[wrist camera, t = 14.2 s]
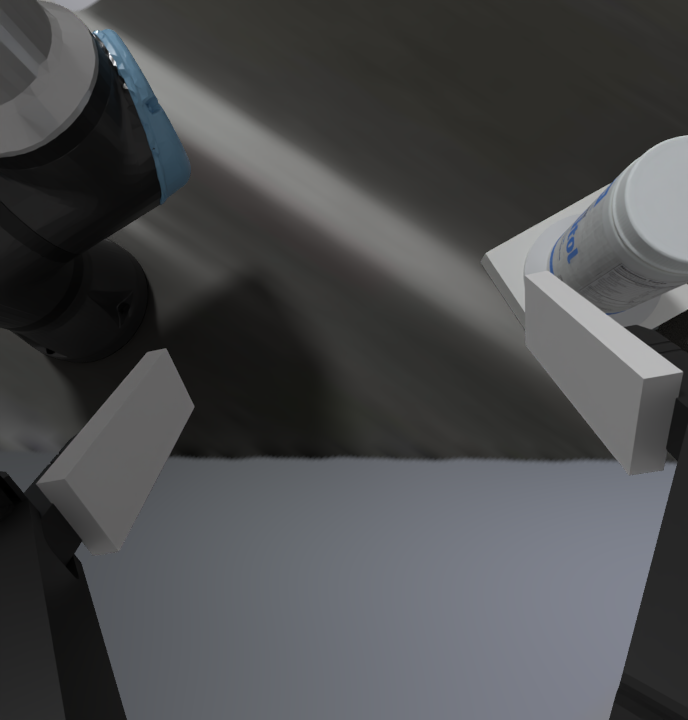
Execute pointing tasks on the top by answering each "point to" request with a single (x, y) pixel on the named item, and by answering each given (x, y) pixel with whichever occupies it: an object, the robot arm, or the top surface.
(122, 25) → the top surface
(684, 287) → the scale
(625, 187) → the supplement tub
